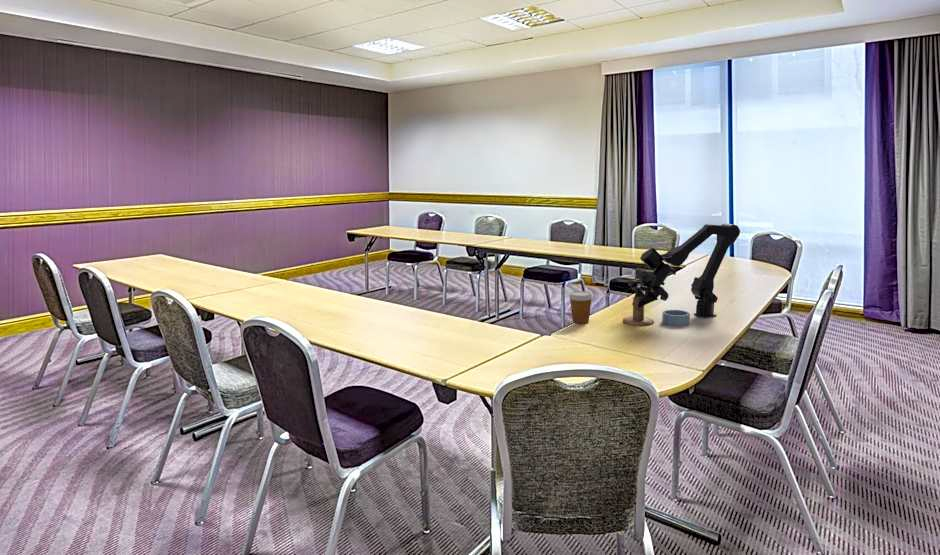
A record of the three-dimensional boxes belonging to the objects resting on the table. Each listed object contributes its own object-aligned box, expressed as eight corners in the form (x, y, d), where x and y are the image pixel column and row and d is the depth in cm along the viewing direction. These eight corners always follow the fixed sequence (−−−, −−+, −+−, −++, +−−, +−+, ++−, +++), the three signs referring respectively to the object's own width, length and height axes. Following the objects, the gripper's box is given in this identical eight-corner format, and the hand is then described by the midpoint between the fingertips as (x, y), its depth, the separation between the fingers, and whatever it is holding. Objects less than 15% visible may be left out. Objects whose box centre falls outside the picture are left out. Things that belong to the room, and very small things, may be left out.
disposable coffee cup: (592, 325, 237) (592, 295, 235) (568, 324, 239) (568, 295, 237) (592, 319, 247) (592, 291, 244) (569, 319, 248) (569, 290, 246)
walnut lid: (640, 316, 248) (641, 293, 246) (660, 323, 237) (660, 298, 236) (616, 320, 244) (617, 296, 242) (635, 327, 233) (636, 302, 231)
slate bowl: (676, 318, 244) (677, 308, 243) (694, 323, 235) (695, 313, 234) (657, 321, 240) (657, 311, 240) (674, 327, 231) (674, 317, 231)
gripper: (632, 260, 246) (609, 289, 244) (663, 266, 229) (639, 298, 227) (647, 277, 251) (625, 306, 248) (679, 284, 234) (655, 315, 232)
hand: (635, 306), depth 239 cm, fingers closed on walnut lid, 3 cm apart
